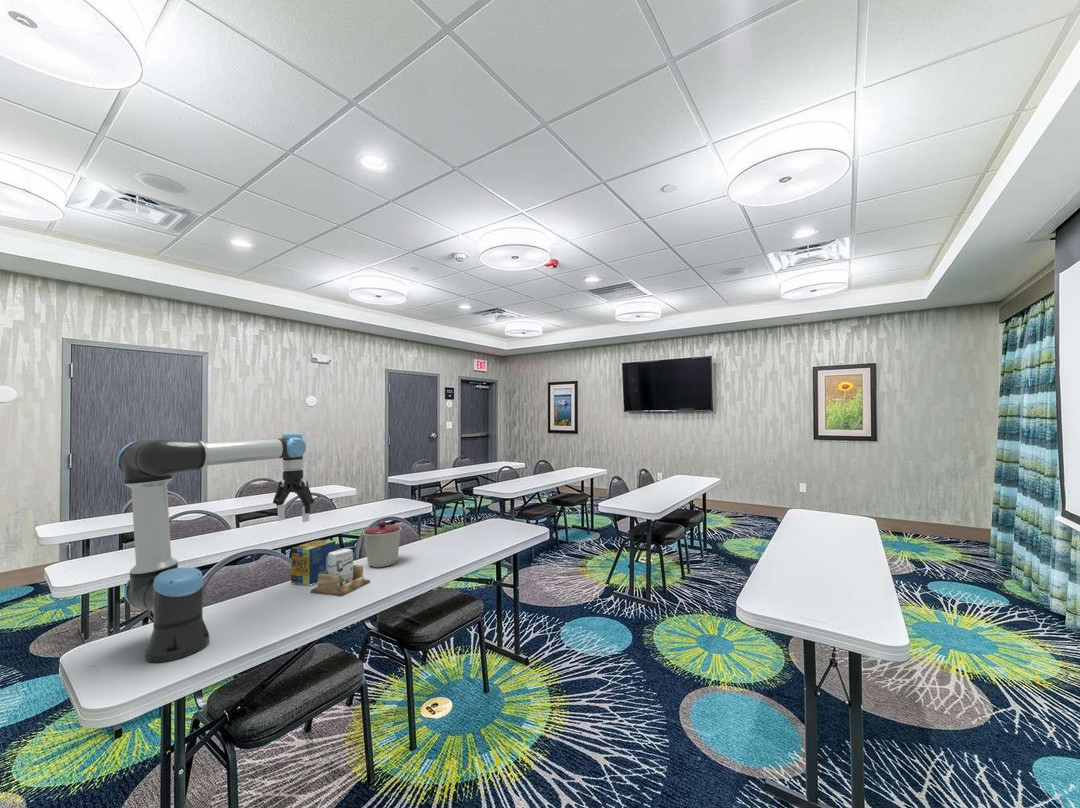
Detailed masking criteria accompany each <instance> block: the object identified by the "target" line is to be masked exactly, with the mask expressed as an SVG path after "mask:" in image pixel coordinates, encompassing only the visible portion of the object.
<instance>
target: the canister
mask: <svg viewBox="0 0 1080 808" xmlns="http://www.w3.org/2000/svg"><path fill="white" fill-rule="evenodd" d="M401 531H402V527H401V526H398V525H396V524H387V521H385V520H380V521H379V522H378V525H374V526H371V527H368V528H366V529H365V530H364V531H362V535H363V538H364V545H365V553H366V559H367V563H368V565H369V566H370V567H371V566H373V567H372V568H386V567H390V566H392V565H395V564H396V563H397V561H398V558H399V549H400V548H399V547H400V538H401ZM389 565H390V566H389ZM385 566H386V567H385Z"/></svg>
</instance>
